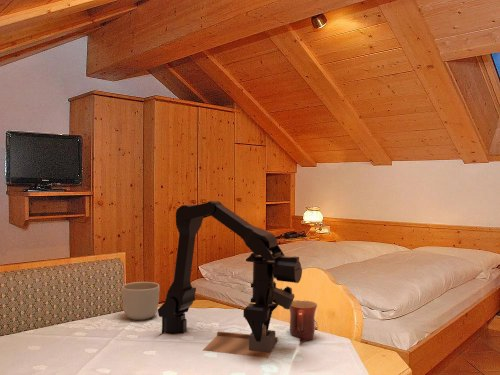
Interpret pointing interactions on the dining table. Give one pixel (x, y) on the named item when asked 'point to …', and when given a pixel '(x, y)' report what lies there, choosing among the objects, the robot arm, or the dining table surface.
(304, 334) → the mug
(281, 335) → the dining table surface
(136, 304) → the planter
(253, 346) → the gray square frame
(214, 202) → the robot arm
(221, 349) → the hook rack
